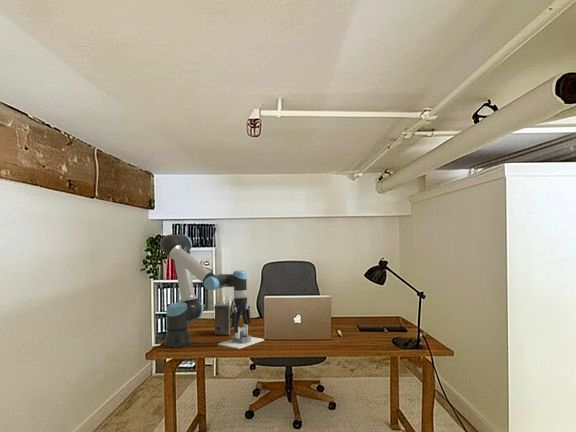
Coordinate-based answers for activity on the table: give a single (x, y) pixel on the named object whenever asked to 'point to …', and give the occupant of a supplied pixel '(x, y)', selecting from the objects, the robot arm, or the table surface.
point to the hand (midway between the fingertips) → (241, 336)
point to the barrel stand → (240, 342)
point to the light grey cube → (243, 332)
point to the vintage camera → (222, 319)
